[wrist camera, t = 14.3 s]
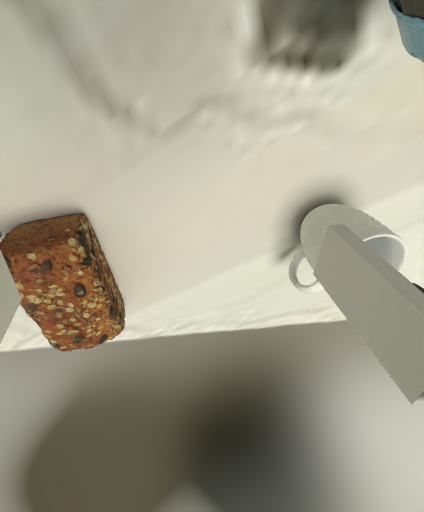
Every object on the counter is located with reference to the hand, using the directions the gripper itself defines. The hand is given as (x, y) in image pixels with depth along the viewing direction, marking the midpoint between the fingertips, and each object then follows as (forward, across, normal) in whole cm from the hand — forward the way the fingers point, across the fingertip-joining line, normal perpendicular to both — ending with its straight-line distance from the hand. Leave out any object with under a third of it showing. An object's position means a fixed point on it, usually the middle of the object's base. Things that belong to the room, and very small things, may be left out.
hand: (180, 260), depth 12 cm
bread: (+29, -13, -21) cm, 38 cm away
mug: (+29, +25, -16) cm, 42 cm away
